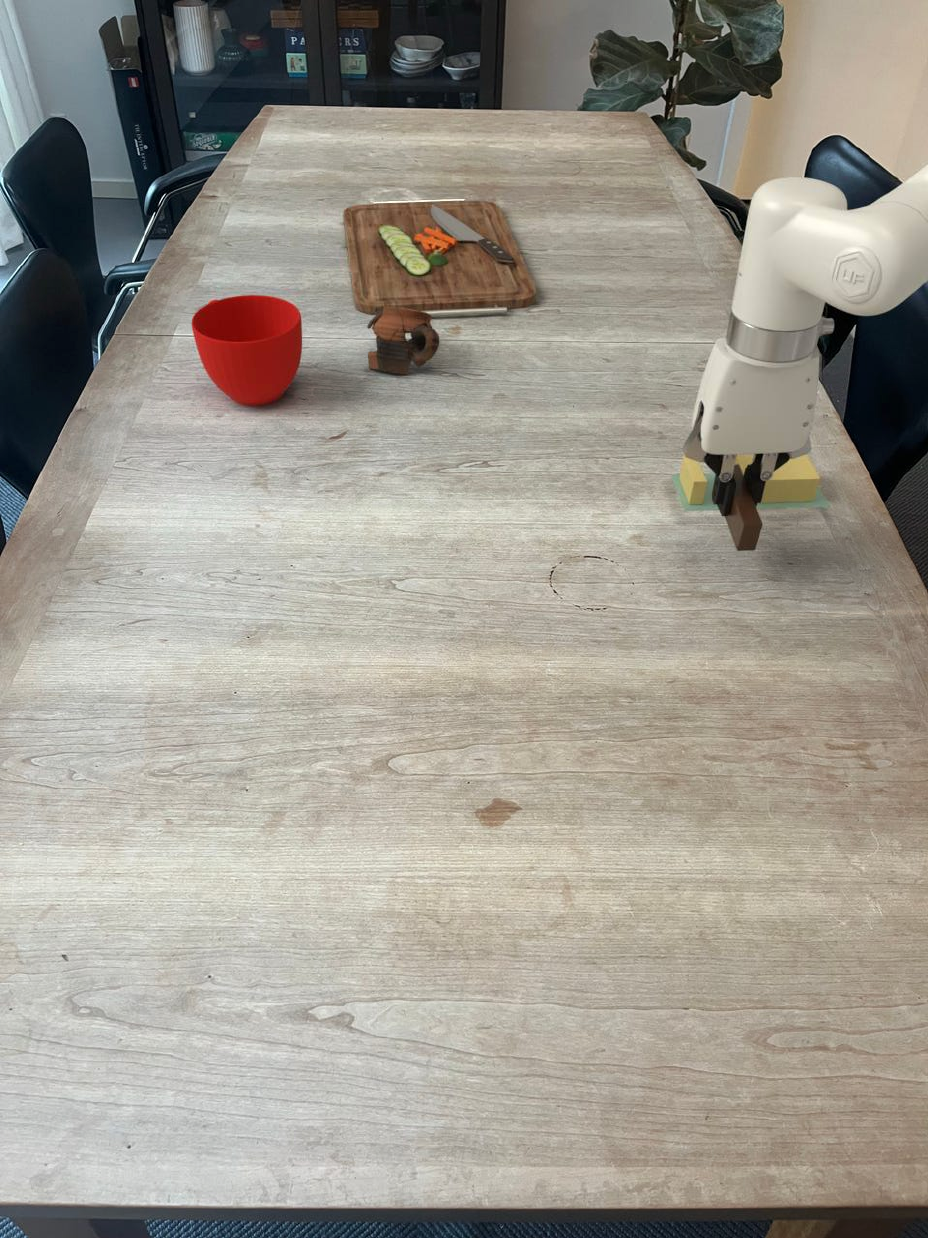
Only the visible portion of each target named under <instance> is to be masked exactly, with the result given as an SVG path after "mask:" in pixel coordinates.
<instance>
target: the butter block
mask: <svg viewBox="0 0 928 1238" xmlns="http://www.w3.org/2000/svg"><path fill="white" fill-rule="evenodd" d="M753 456H754V454H737V456H736V461H735V464H739V466H740V468H741V471H742V473H743V476H744V472H745V468H747V465H750V464H752V460H753ZM820 482H821V477H820V475H819V473H818V471H817V469H816V468H815V466H814V465H813V462H812V461H811V459H810V458H809V456H808V454H806V455H803V456H800V457H797V458H794V459H789V461H788V462H787V463H785V464H784V465H783V466H781V467H780V468H779V469H777V470H776V471H775V472H773V476H772V478H771V479H770V480H767V481H766V483H765V488H764V492H763V496H762V500H761V503H777V502H814V499H815V496H816V493H817V489H818V486H820Z"/></svg>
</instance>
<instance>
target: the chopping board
mask: <svg viewBox="0 0 928 1238" xmlns="http://www.w3.org/2000/svg"><path fill="white" fill-rule="evenodd" d="M342 215H343V225H344V234H345V241H346V249H347V257H348V264H349V265H348V266H349V271H350V272H349V273H350V280H351V288H352V296H353V297H352V298H353V305H354V307H355V309H356V310H357V311H359V312H360V313H364V314H369V315H376V313H377V312H376V311H375V309H376V307H381V306H385V307H396V308H407V309H413V310H418V311H422V312H426V313H428V314H430V315H431V316H432V317H445V316H447V317H448V316H469V315H490V314H491V315H492V314H508V309H520V308H527V307H529V306H532V305H534V303H536V301H537V287H536V285H535V283H534V281H533V279H532V276H531V274H530V272H529V270H528V267H527V265H526V263H525V261H524V258H523V257H522V255H521V251H520V250H519V248H518V245H517V243H516V241H515V239H514V237H513V233H512V232H511V230H510V228H509V225H508V223H507V221H506V218H505V216H504V214H503V212H502V210H501V208H500V206H499V205H498V204H497V203H494V202H492V201H485V200H466V199H465V198H464V197H461V198H457V197H456V198H431V199H430V198H429V199H428V198H427V199H401V200H400V199H399V200H398V199H397V200H374V201H372V204H370V203H369V204H356V205H350V206H348V207H346V208H345V209H344V210H343V212H342Z"/></svg>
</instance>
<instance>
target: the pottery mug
mask: <svg viewBox="0 0 928 1238" xmlns="http://www.w3.org/2000/svg"><path fill="white" fill-rule="evenodd" d="M375 311H376V312H377V313H376V314H375V316H374V317H372V318H371V319H370V320H369V322H368V323H367V326H366V327H367V329H368V330H369V329H371V330H372V331H373V334H374V335H375V336H376V337H375V341H376V342H375V343H376V350H370V351H368V352H367V360H368V368H369V369H370V370H374V371H375V370H377V371H384V372H386V373H390V374H399V375H409V372H410V367H411V363H413V364H414V365H415V366H416V367H418V368H420V367H422V366H424V365H426V363H427V362H428V361H430V360H432V359H433V358H434V356H435V355H436V353H437V352H438V349H439V347H440V336H439V334H438V332H437V331H436V329H434V328H433V325H432V324H431V321H432V320H431V319H433V318H432V317H433V316H431V315H430V314H428V313H426V312H422V311H418V310H413V309H407V308H396V307H385V306H381V307H376V309H375ZM406 334H410V339H408V340H407V338H406Z"/></svg>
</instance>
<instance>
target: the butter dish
mask: <svg viewBox="0 0 928 1238" xmlns="http://www.w3.org/2000/svg"><path fill="white" fill-rule="evenodd" d="M704 475H705V477H706V480H707V485H706V490H705V494H704V499H703V504H689V503H688V500H687V498H686V495H685V492H684V490H683V487H682V484H681V482H680V479H679V477H680V473H673V474H672V473H671V474H670V475H669V476H670V478H671V481H672V483H673V486H674V488H675V491H676V493H677V496H678V498H679V501H680V503H681V506H682V508H683V511H684V512H695V511H696V512H697V511H701V512H702V511H720V510H719V508H718V506H717V504H716V505H715V504H714V503H713V501H712V490H713V485H714V480H715V475H716V474H715V473H714V472H710V473H709V472H706V473H705V472H704ZM819 486H820V485H819ZM819 486H818V489H817V493H816V496H815V499H814V502H777V503H757V507H756V508H757V510H772V509H777V510H778V509H807V508H808V509H809V508H811V509H813V508H831V505H830V503H829V502H828V500H827V499H826V497H825V495H824V493H823V492H822V490H821V487H819Z"/></svg>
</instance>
